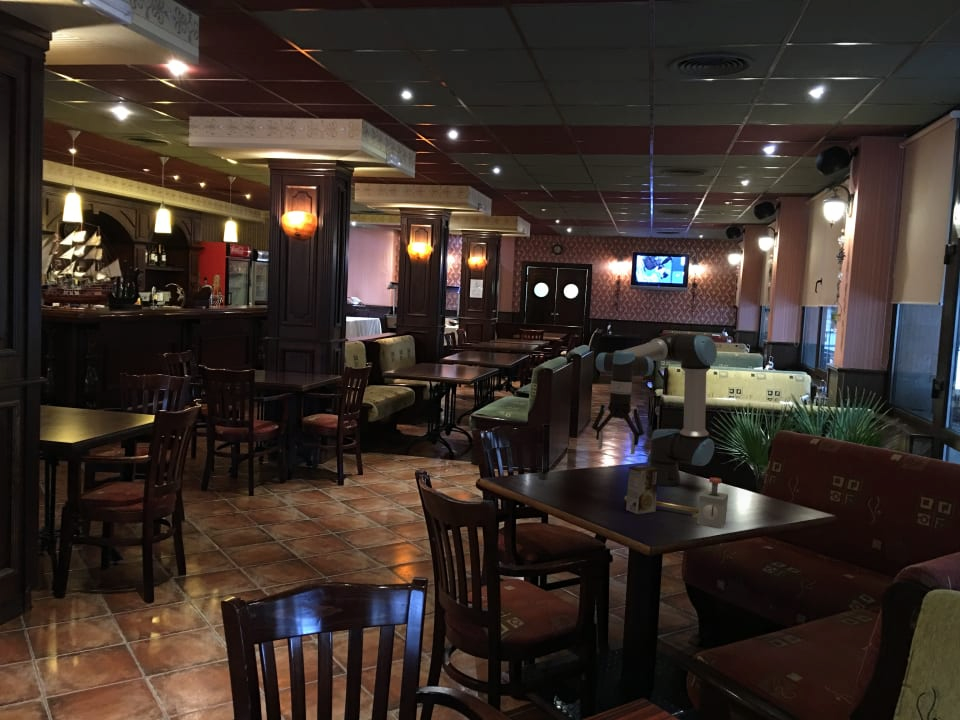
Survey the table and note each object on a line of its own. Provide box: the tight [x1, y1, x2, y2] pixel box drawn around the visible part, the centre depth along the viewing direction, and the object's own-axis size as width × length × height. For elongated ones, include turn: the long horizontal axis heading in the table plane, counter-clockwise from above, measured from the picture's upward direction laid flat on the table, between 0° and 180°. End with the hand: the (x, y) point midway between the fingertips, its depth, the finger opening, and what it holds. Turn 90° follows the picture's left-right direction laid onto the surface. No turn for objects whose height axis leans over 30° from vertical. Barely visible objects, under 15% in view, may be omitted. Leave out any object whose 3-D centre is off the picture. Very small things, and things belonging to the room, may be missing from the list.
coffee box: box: [625, 464, 658, 515], centre depth 275 cm, size 9×6×16 cm
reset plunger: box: [709, 477, 722, 494], centre depth 264 cm, size 4×4×5 cm
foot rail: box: [624, 495, 699, 518], centre depth 278 cm, size 30×2×3 cm, turn 63°
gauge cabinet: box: [697, 490, 729, 529], centre depth 264 cm, size 11×8×10 cm
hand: (616, 451), depth 279 cm, fingers open, 12 cm apart
